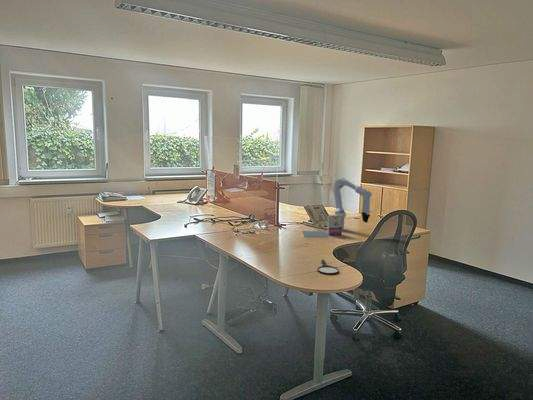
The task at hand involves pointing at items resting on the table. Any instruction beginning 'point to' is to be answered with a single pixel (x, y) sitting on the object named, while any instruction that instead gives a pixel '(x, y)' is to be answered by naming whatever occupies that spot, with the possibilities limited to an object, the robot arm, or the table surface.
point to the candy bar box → (334, 225)
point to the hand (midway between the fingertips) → (365, 221)
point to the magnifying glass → (327, 269)
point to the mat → (314, 234)
